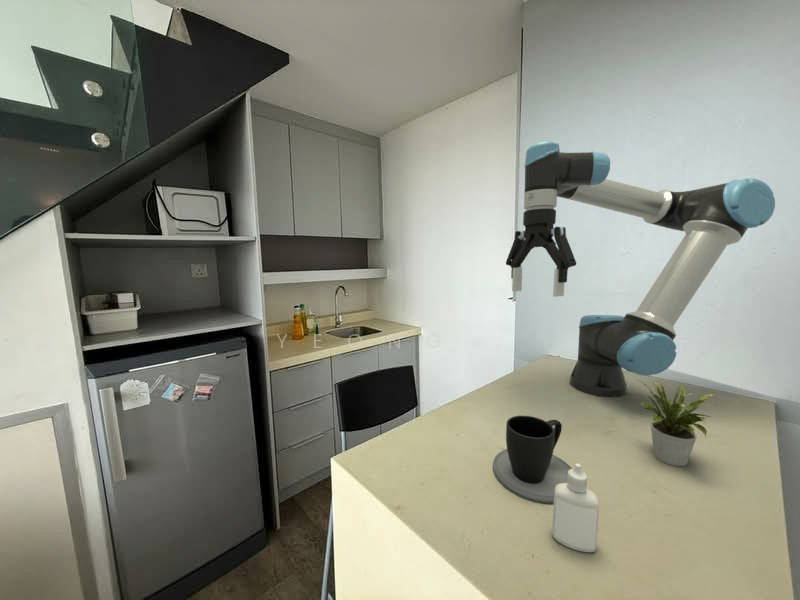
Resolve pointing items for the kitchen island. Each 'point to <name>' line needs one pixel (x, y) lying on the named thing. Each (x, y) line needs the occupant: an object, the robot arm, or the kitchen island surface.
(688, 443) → the house plant
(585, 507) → the eye dropper bottle
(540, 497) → the round gray plate
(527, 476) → the mug
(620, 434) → the kitchen island surface
